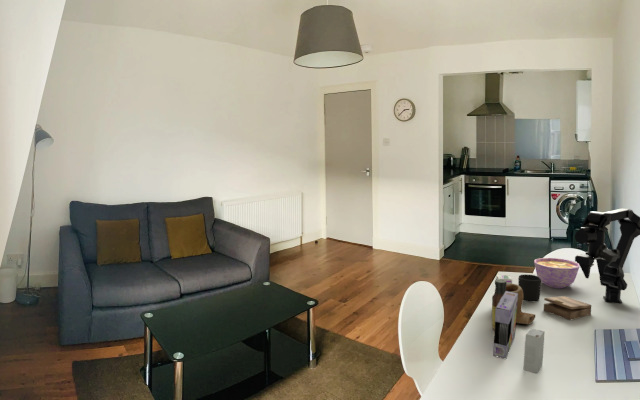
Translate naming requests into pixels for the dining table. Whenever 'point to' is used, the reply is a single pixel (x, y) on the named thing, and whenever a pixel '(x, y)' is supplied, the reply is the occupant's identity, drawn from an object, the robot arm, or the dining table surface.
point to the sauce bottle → (497, 297)
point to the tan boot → (520, 305)
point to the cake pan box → (505, 324)
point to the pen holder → (530, 287)
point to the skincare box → (533, 350)
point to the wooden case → (566, 311)
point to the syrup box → (504, 278)
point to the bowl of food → (556, 271)
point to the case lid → (567, 302)
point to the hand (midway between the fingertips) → (594, 276)
